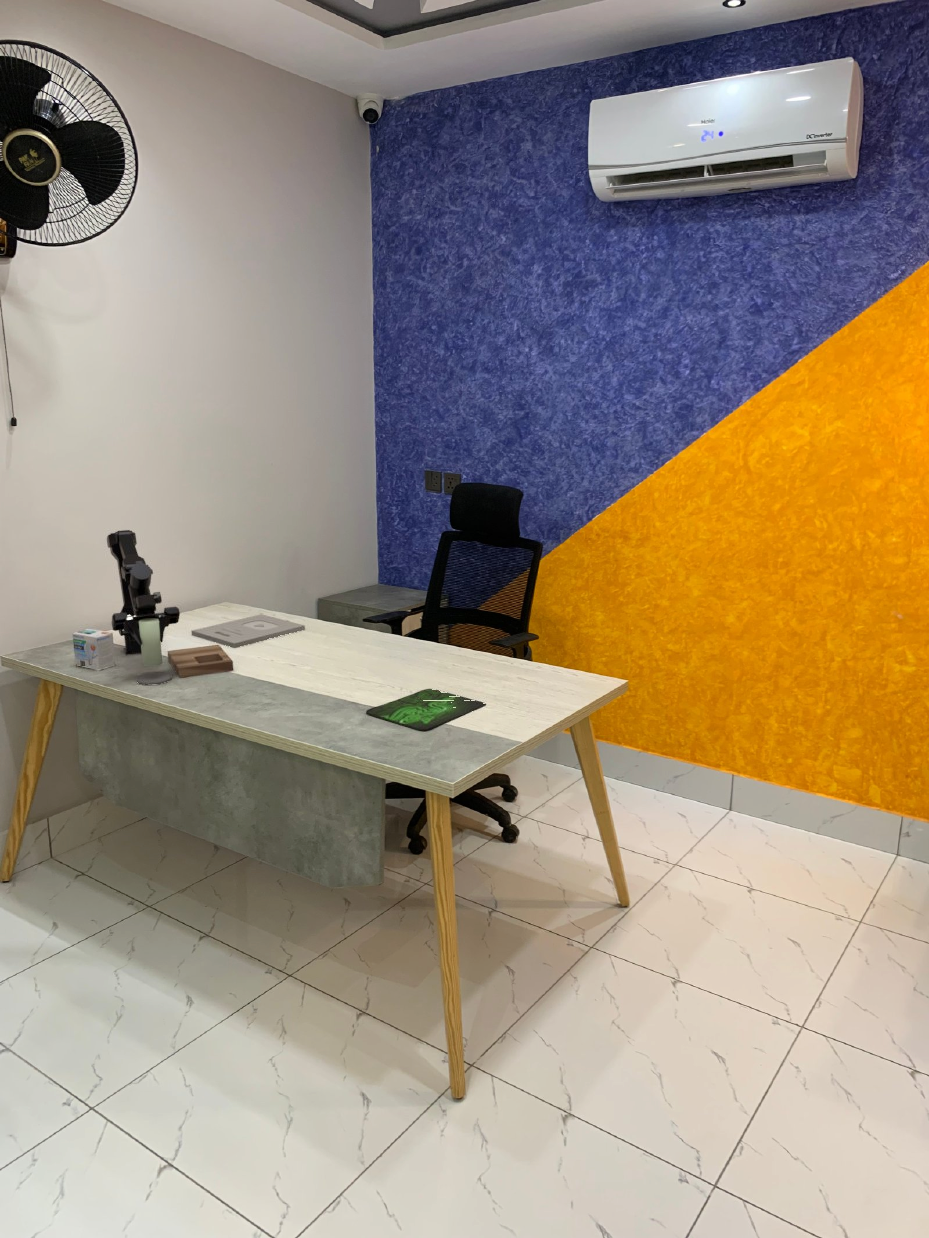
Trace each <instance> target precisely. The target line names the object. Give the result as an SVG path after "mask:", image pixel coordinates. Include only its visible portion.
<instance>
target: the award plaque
mask: <svg viewBox="0 0 929 1238" xmlns="http://www.w3.org/2000/svg"><path fill="white" fill-rule="evenodd" d="M302 630H303V631H305V630H306V625H304V624H300V623H297V622H293V621H289V620H286V619H281V618H277V617H274V616H269V615H266V614H262V613H261V614H257V615H251V616H247V617H244V618H239V619H234V620H230V621H227V622H221V623H218V624H213V625H209V626H205V627H201V628H197V629H192V630H191V636H192V637H196V638H200V639H202V640H206V641H210V642H213V643H215V642H216V643H215V644H218V645H223V646H225V645H226V647H229V646H230V647H229V648H232V649H237V648H241V647H240V646H242V647H245V646H244V645H246V646H249V645H253V644H257V643H260V642H259V641H261V642H264V640H265V641H268V640H267V639H269V638H272V639H275V638H274V637H276V638H279V637H278V636H280V635H284V636H286V635H285V634H288V635H290V634H289V633H292V634H295V633H298V632H297V631H299V632H302ZM294 632H295V633H294ZM280 637H281V636H280ZM269 640H270V639H269ZM256 642H257V643H256ZM248 644H249V645H248Z"/></svg>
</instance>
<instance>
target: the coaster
mask: <svg viewBox="0 0 929 1238" xmlns="http://www.w3.org/2000/svg"><path fill="white" fill-rule="evenodd" d="M172 677H173V676H172V673H170V672H168V671H149V672H144V673H141V674H139V675H137V676H136V678H135V681H136V683H137V682H138V683H139V684H138V683H137V684H138V685H140V684H145V685H144V686H149V685H148V684H159V685H162V684H161V683H163V684H165V683H164V682H166V683H168V682H167V681H169V682H170V681H171V680H172V679H173V678H172Z"/></svg>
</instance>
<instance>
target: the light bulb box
mask: <svg viewBox="0 0 929 1238" xmlns="http://www.w3.org/2000/svg"><path fill="white" fill-rule="evenodd" d="M113 634H114V633H113V632H112V631H111V632H110V631H105V630H99V629H94V628H86V629H84V630H79V631H76V632H73V633H72V641H73V650H74V659H75V660H74V662H75V665H76V664H77V665H80V666H86V667H91V668H94V669H104V668H105V667H110V666H113V665H115V664H116V656H115V654H116V653H115V646H114V636H113ZM113 667H114V666H113ZM110 668H111V667H110ZM104 670H105V669H104Z"/></svg>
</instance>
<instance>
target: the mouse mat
mask: <svg viewBox="0 0 929 1238" xmlns="http://www.w3.org/2000/svg"><path fill="white" fill-rule="evenodd" d="M432 689H433V688H425V689H422V690H419V691H417V692H414V693H411V694H408V695H406V696H404V697H400V698H398V699H395V700H392V701H389V702H386V703H384V704H381V705H377V706H374V707H371V708H369V709H367V710H366V711H365V714H367V715H368V716H371V717H373V718H377V719H380V720H384V721H388V722H391V723H393V724H397V725H399V726H400V725H401V726H403V727H406V728H411V729H413V730H417V731H422V732H423V731H428V730H429V731H430V730H432V729H434V728H437V727H439V726H442V725H444V723H445V724H447V723H449V722H451V720H452V721H454V720H456V719H459V718H461V717H462V716H463V717H464V716H465V715H468V714H470V713H472V711H473V712H474V711H476V710H478V709H481V708H483V707H485V706H487V703H485V702H484V701H479V700H477V699H473V698H469V697H465V696H462V695H457V694H454V693H450V692H447V693H441V692H440V691H441V690H440V691H439V689H436V690H432ZM456 695H457V696H460V697H449V696H456ZM423 700H454V701H423ZM464 700H470V701H464ZM471 700H475V701H471ZM451 702H452V703H451ZM483 703H485V704H483ZM453 707H456V708H453Z"/></svg>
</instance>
